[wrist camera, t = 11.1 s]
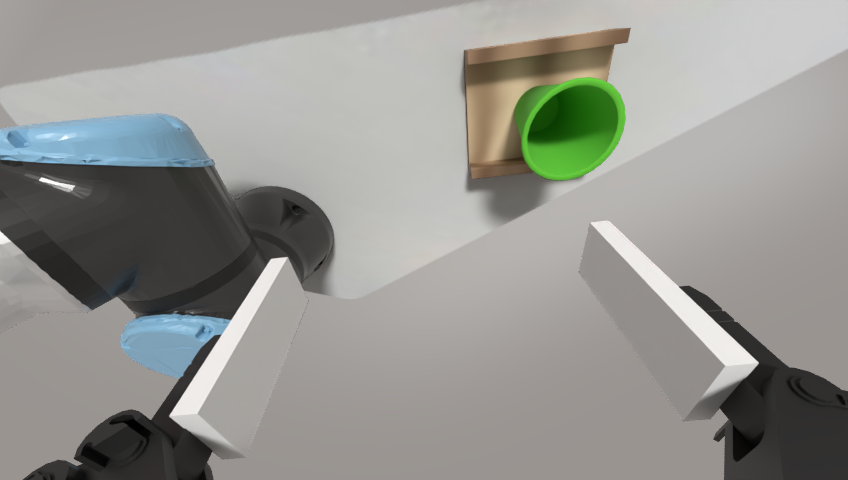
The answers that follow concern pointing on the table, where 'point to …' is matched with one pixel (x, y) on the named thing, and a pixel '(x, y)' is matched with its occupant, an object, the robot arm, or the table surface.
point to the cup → (569, 126)
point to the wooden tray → (523, 90)
